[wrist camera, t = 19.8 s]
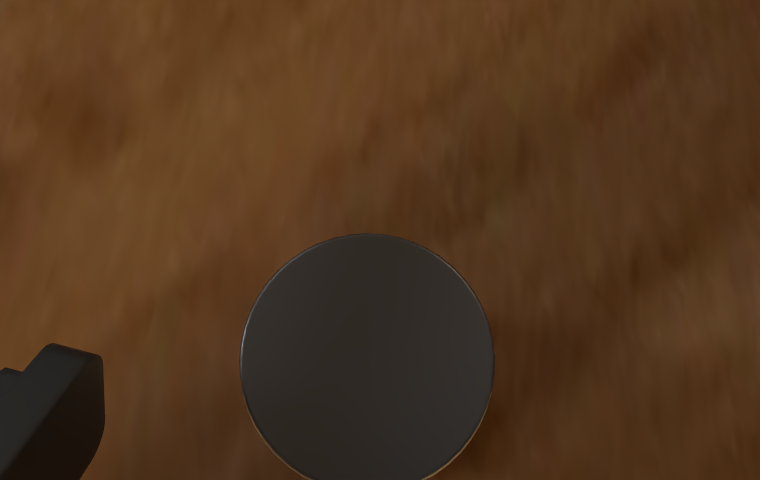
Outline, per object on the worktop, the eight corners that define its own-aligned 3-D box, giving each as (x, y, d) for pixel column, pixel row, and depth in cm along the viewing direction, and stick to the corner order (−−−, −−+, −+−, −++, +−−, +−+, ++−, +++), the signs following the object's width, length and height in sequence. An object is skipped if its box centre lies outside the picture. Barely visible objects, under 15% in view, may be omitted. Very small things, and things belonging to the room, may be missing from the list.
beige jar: (460, 315, 22) (532, 258, 13) (424, 470, 21) (473, 538, 12) (312, 277, 23) (271, 193, 13) (270, 430, 22) (190, 464, 12)
